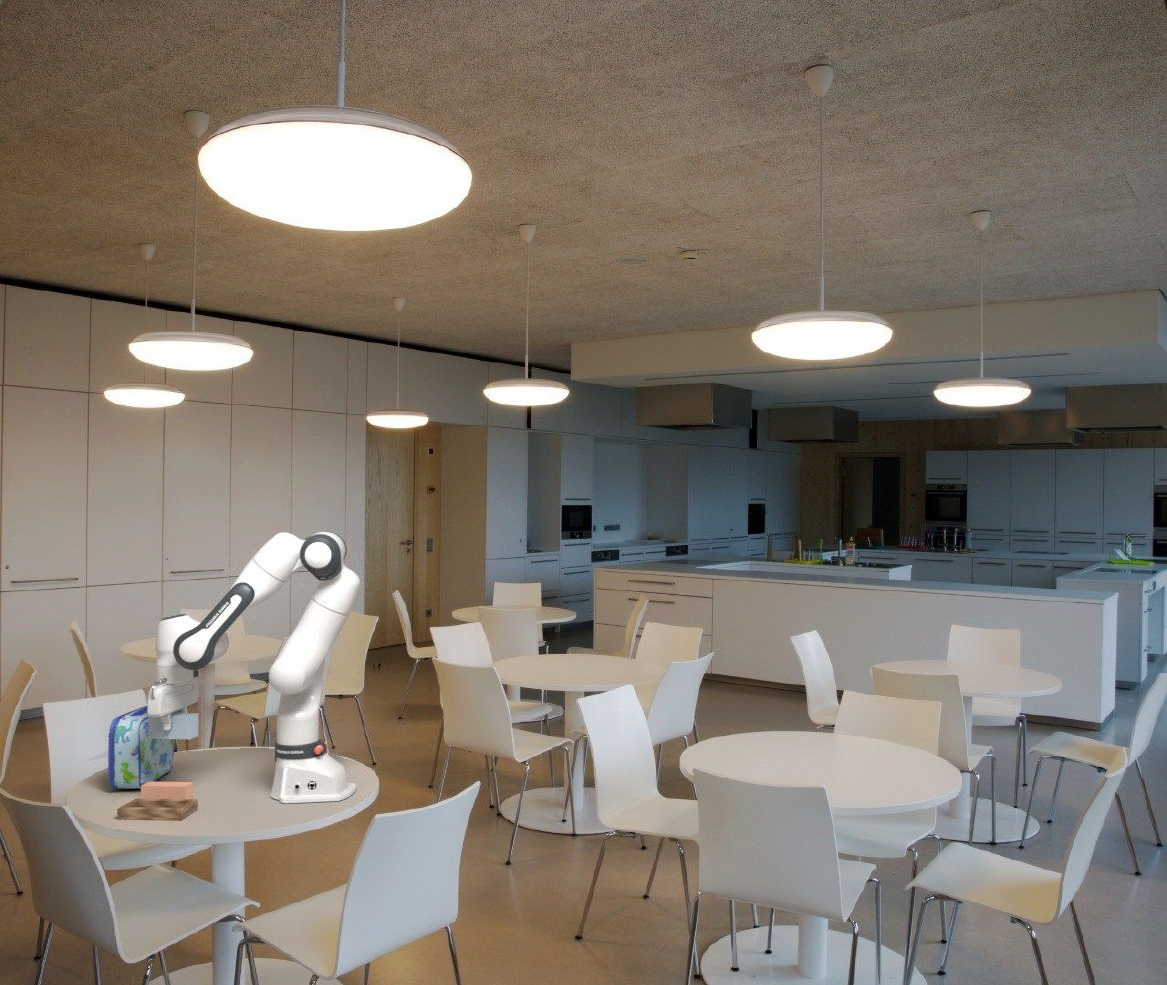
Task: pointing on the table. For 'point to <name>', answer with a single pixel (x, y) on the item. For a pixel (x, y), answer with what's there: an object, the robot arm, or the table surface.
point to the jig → (157, 809)
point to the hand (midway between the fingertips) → (173, 727)
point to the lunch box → (136, 752)
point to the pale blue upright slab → (174, 727)
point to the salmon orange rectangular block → (167, 790)
